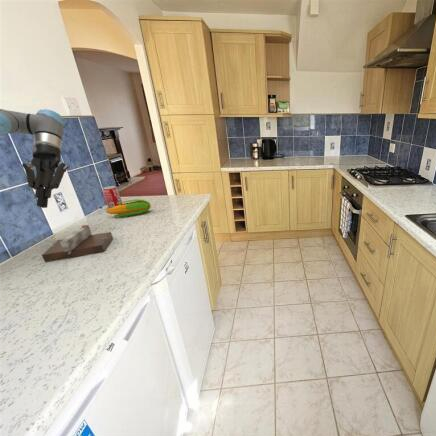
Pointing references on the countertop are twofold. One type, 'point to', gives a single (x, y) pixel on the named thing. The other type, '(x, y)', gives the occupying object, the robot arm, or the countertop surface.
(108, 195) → the soda can
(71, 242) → the grey bar
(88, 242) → the base
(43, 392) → the countertop surface
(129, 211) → the corn
